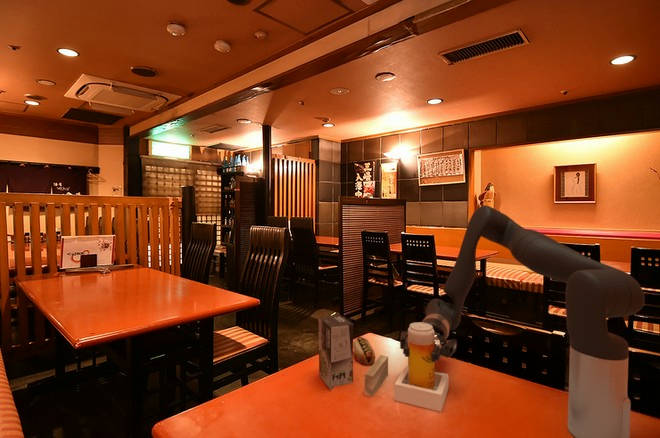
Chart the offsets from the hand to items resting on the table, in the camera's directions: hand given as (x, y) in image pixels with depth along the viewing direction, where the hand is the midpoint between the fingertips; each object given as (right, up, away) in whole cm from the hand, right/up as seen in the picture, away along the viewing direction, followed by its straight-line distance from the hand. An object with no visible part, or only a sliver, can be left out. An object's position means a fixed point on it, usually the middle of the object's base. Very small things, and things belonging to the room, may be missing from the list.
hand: (419, 355), depth 82 cm
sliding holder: (+1, -10, +3) cm, 11 cm away
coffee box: (-19, -11, +12) cm, 25 cm away
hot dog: (-11, -11, +24) cm, 29 cm away
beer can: (+1, -9, +3) cm, 10 cm away
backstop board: (-1, -11, +4) cm, 12 cm away
